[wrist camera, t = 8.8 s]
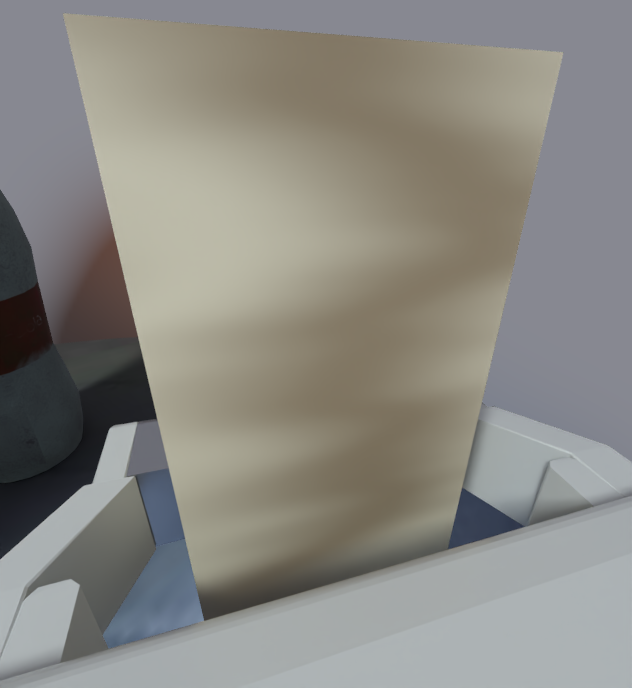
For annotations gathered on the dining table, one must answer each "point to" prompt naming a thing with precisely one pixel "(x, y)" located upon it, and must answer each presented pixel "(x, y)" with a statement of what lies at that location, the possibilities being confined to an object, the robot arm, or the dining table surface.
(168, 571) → the dining table surface
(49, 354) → the bottle
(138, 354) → the dining table surface
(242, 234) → the peg
